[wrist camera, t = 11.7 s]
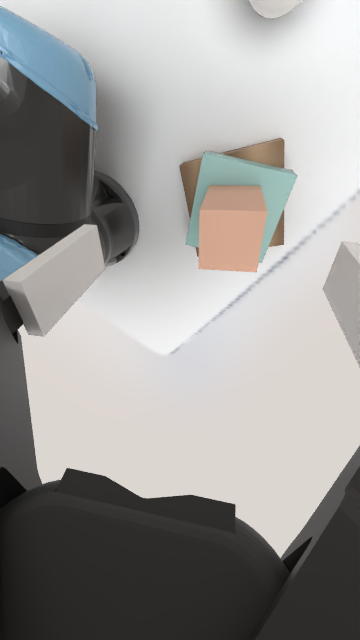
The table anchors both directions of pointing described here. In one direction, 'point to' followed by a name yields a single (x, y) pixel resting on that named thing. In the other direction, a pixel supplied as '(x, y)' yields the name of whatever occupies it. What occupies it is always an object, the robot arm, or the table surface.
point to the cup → (274, 7)
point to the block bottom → (258, 153)
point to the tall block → (231, 227)
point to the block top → (242, 172)
